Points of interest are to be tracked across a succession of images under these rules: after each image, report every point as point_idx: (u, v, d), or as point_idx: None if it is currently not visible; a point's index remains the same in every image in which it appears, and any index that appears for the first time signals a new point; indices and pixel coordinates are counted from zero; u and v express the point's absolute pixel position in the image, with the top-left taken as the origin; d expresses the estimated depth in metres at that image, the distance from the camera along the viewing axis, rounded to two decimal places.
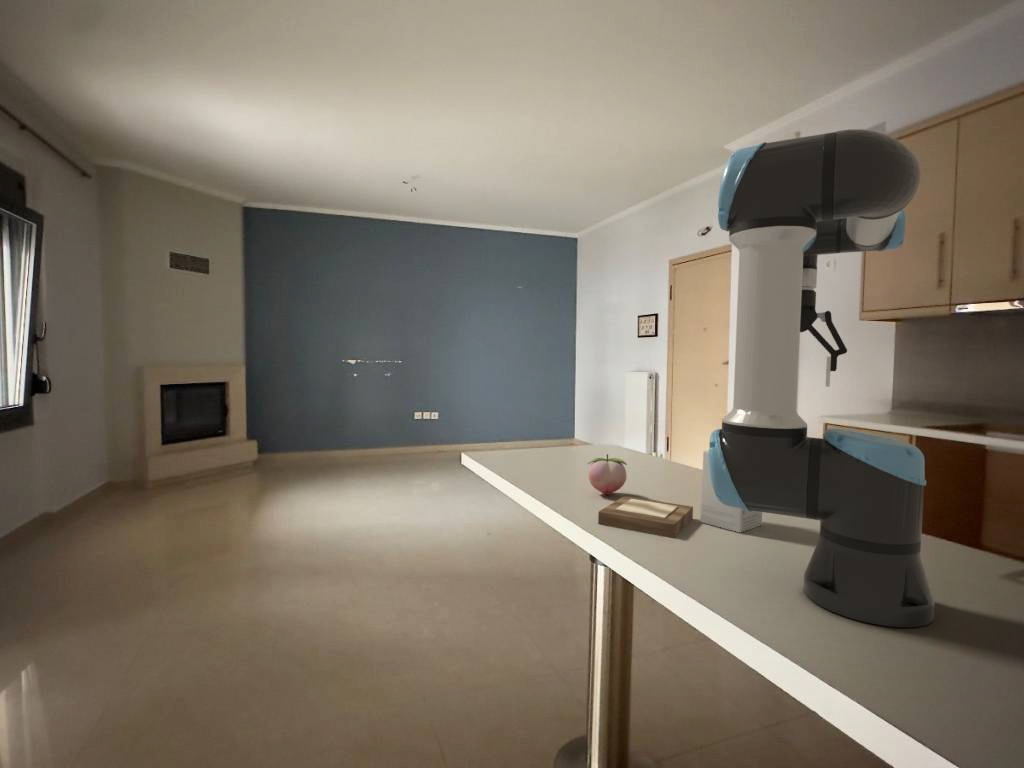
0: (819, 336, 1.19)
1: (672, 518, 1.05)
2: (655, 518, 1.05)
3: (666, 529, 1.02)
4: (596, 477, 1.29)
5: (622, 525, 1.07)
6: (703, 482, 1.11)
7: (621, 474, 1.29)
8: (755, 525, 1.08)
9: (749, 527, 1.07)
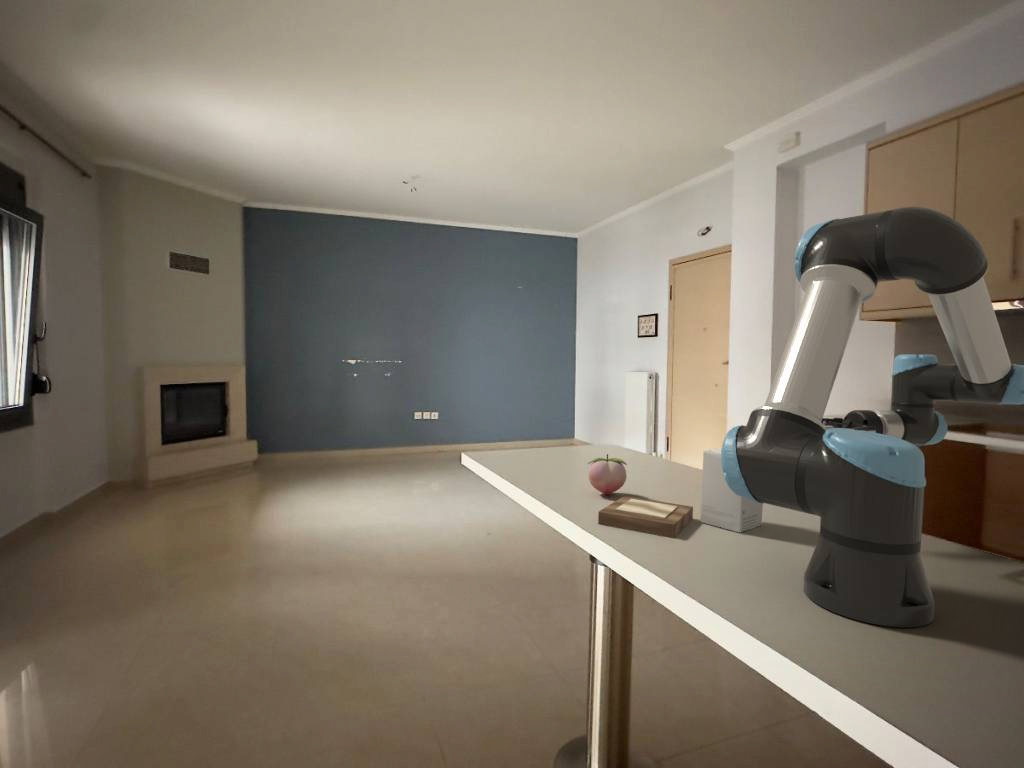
0: (844, 425, 1.08)
1: (672, 518, 1.05)
2: (655, 518, 1.05)
3: (666, 529, 1.02)
4: (596, 477, 1.29)
5: (622, 525, 1.07)
6: (703, 482, 1.11)
7: (621, 474, 1.29)
8: (755, 525, 1.08)
9: (749, 527, 1.07)
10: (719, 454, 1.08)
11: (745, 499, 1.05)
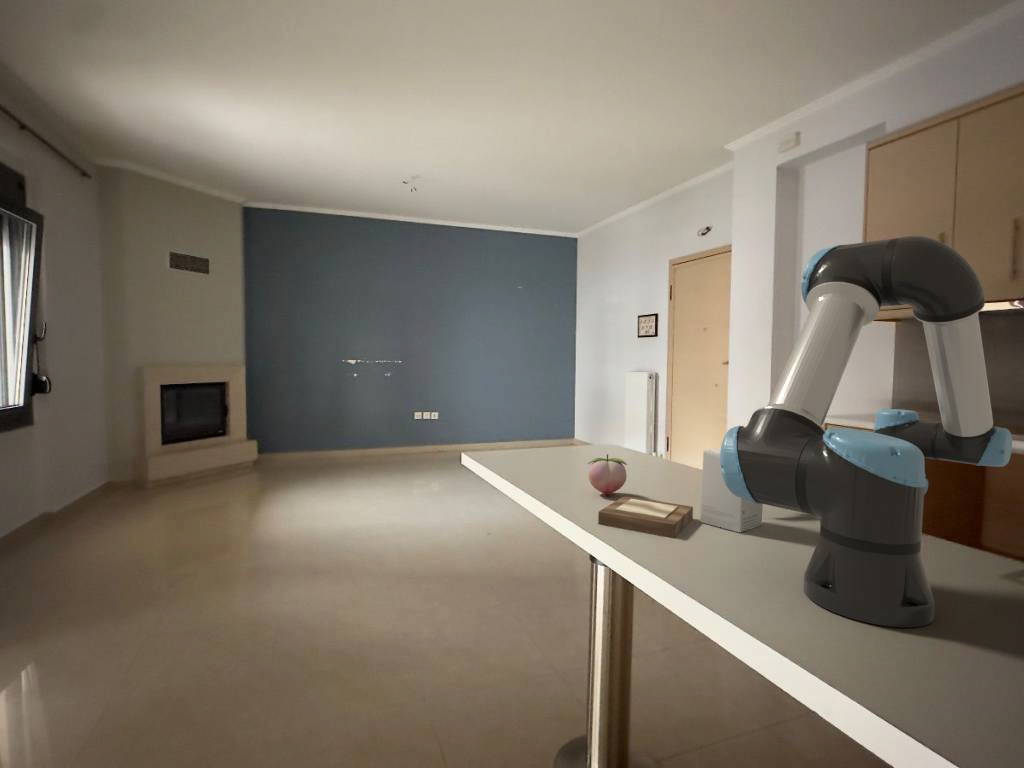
0: None
1: (672, 518, 1.05)
2: (655, 518, 1.05)
3: (666, 529, 1.02)
4: (596, 477, 1.29)
5: (622, 525, 1.07)
6: (703, 482, 1.11)
7: (621, 474, 1.29)
8: (755, 525, 1.08)
9: (749, 527, 1.07)
10: (719, 454, 1.08)
11: (745, 499, 1.05)
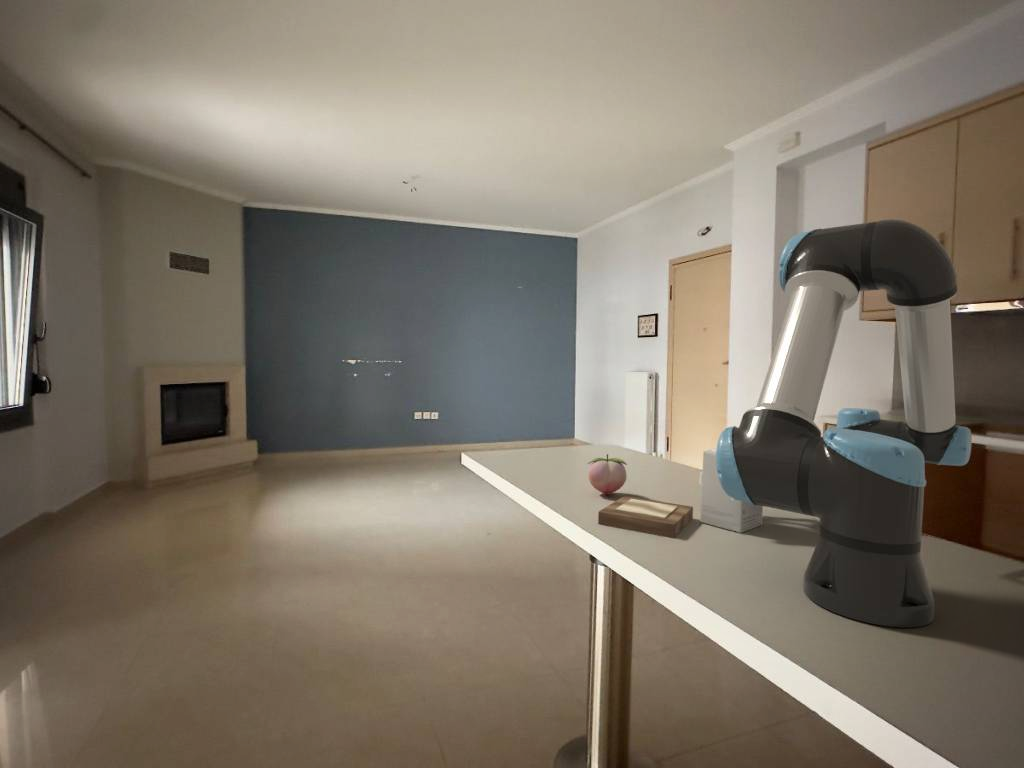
0: None
1: (672, 518, 1.05)
2: (655, 518, 1.05)
3: (666, 529, 1.02)
4: (596, 477, 1.29)
5: (622, 525, 1.07)
6: (703, 482, 1.11)
7: (621, 474, 1.29)
8: (755, 525, 1.08)
9: (749, 527, 1.07)
10: None
11: None
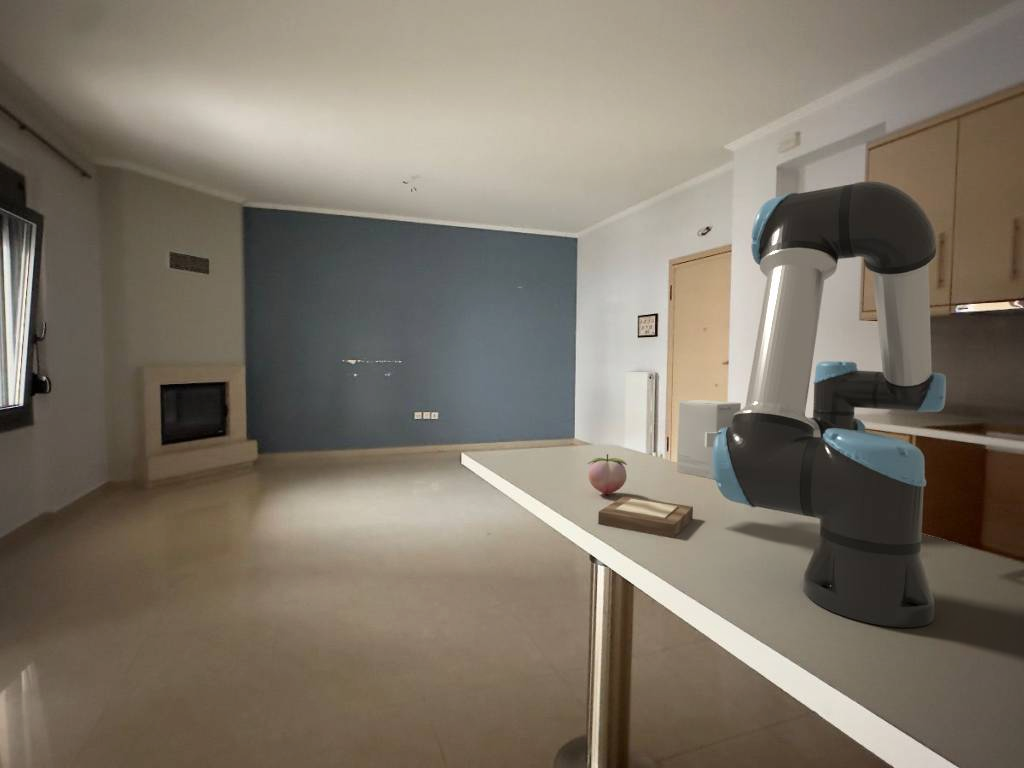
0: None
1: (672, 518, 1.05)
2: (655, 518, 1.05)
3: (666, 529, 1.02)
4: (596, 477, 1.29)
5: (622, 525, 1.07)
6: (679, 432, 1.12)
7: (621, 474, 1.29)
8: None
9: None
10: (694, 403, 1.09)
11: None
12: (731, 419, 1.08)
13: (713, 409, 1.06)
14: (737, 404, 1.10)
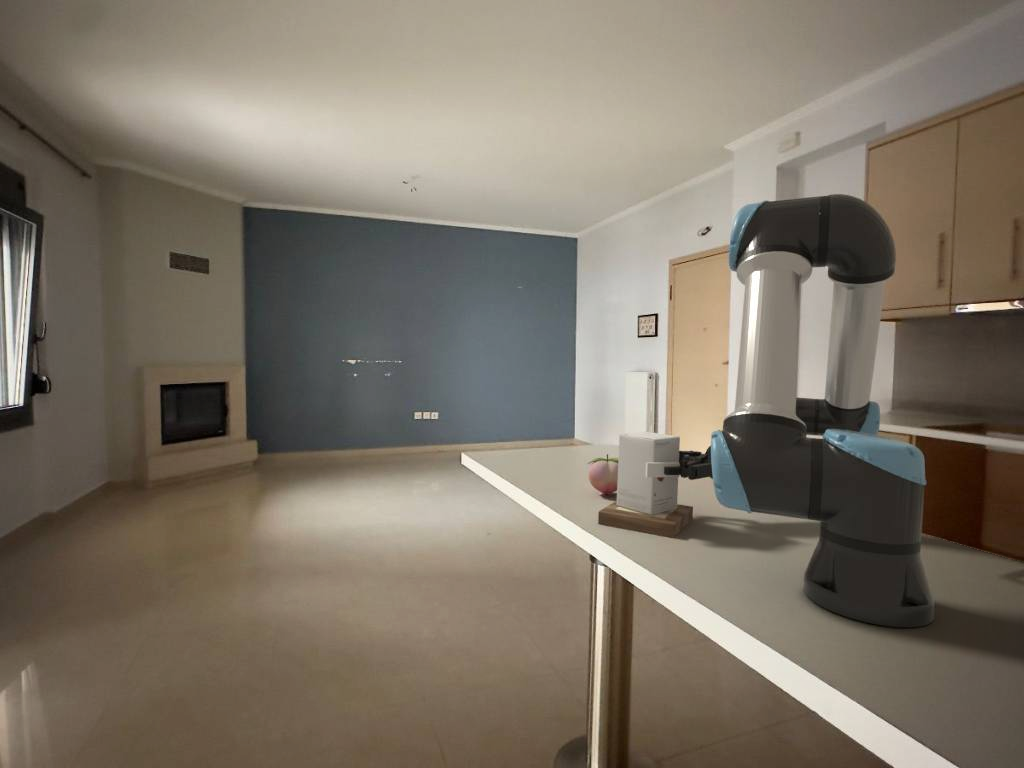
0: (695, 461, 1.08)
1: (672, 518, 1.05)
2: (655, 518, 1.05)
3: (666, 529, 1.02)
4: (596, 477, 1.29)
5: (622, 525, 1.07)
6: (619, 465, 1.12)
7: None
8: (669, 508, 1.09)
9: (662, 509, 1.08)
10: (633, 437, 1.09)
11: (656, 481, 1.06)
12: (669, 453, 1.08)
13: (650, 444, 1.06)
14: (676, 438, 1.10)
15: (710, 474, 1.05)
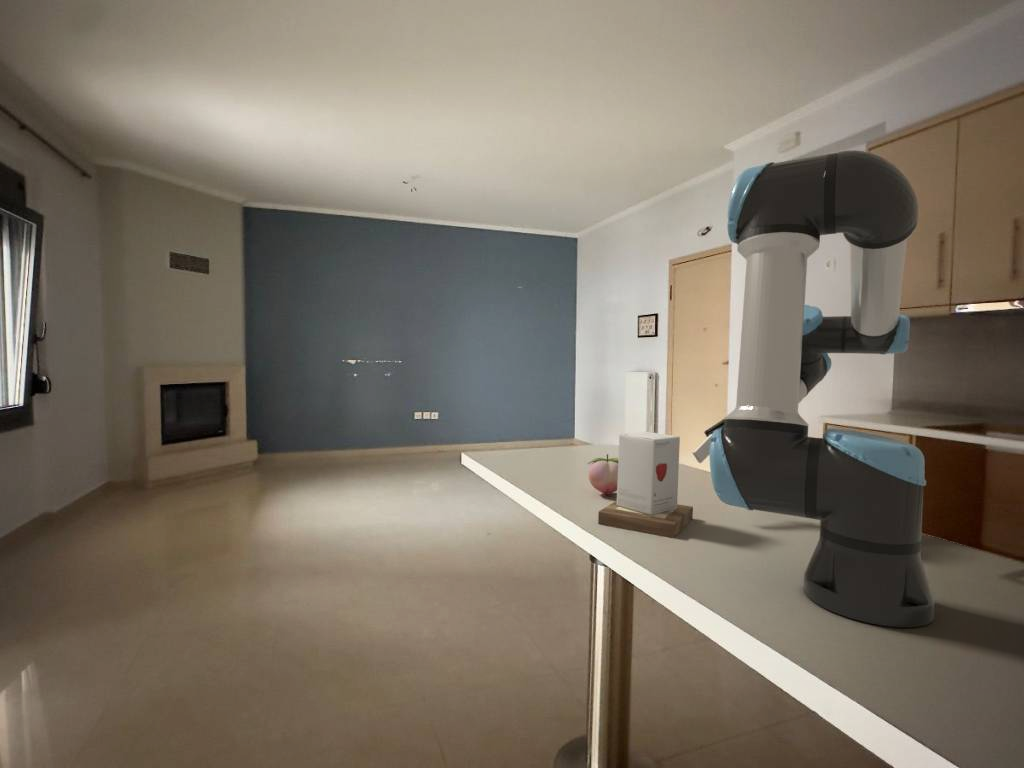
0: None
1: (672, 518, 1.05)
2: (655, 518, 1.05)
3: (666, 529, 1.02)
4: (596, 477, 1.29)
5: (622, 525, 1.07)
6: (619, 465, 1.12)
7: None
8: (669, 508, 1.09)
9: (662, 509, 1.08)
10: (633, 437, 1.09)
11: (656, 481, 1.06)
12: (669, 453, 1.08)
13: (650, 444, 1.06)
14: (676, 438, 1.10)
15: None
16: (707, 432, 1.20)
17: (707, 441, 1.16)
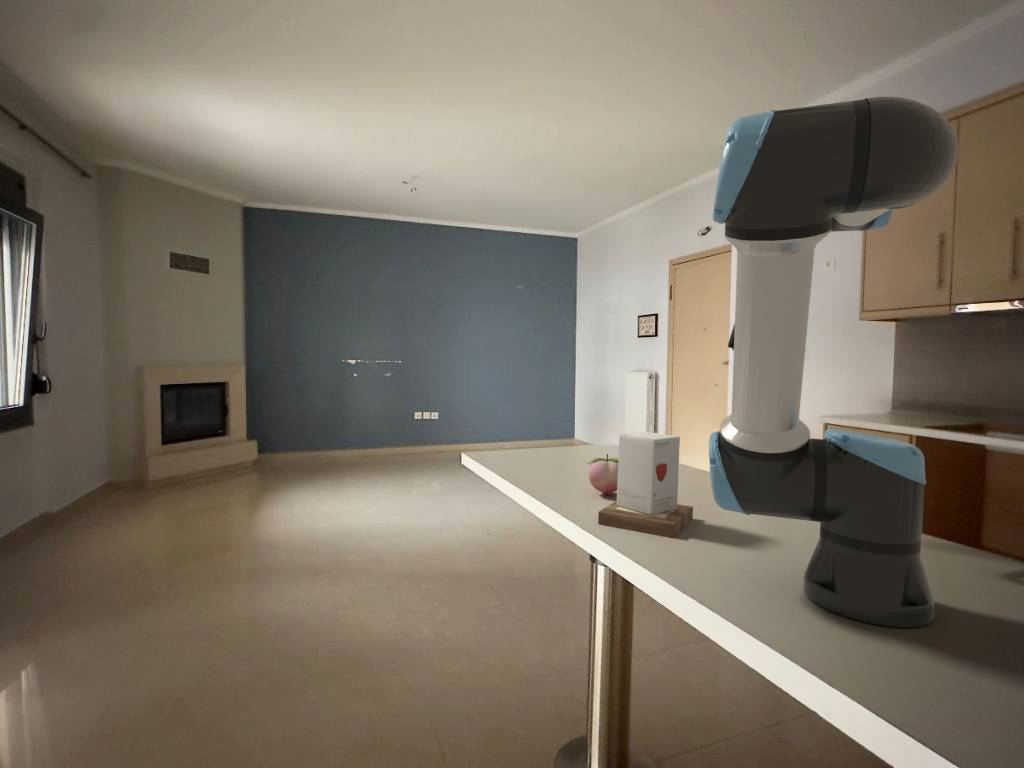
0: None
1: (672, 518, 1.05)
2: (655, 518, 1.05)
3: (666, 529, 1.02)
4: (596, 477, 1.29)
5: (622, 525, 1.07)
6: (619, 465, 1.12)
7: None
8: (669, 508, 1.09)
9: (662, 509, 1.08)
10: (633, 437, 1.09)
11: (656, 481, 1.06)
12: (669, 453, 1.08)
13: (650, 444, 1.06)
14: (676, 438, 1.10)
15: None
16: (730, 346, 1.18)
17: None
